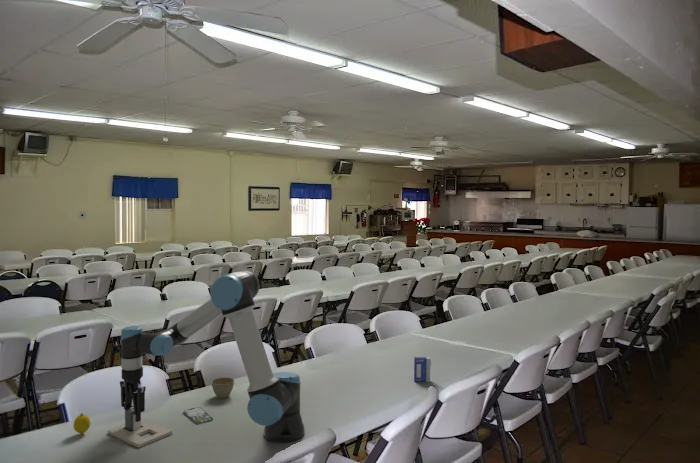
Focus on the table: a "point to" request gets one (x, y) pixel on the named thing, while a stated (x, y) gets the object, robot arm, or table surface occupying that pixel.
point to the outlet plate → (140, 433)
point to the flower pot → (222, 386)
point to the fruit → (82, 423)
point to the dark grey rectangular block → (129, 419)
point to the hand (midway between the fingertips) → (133, 427)
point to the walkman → (422, 369)
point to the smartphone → (198, 415)
